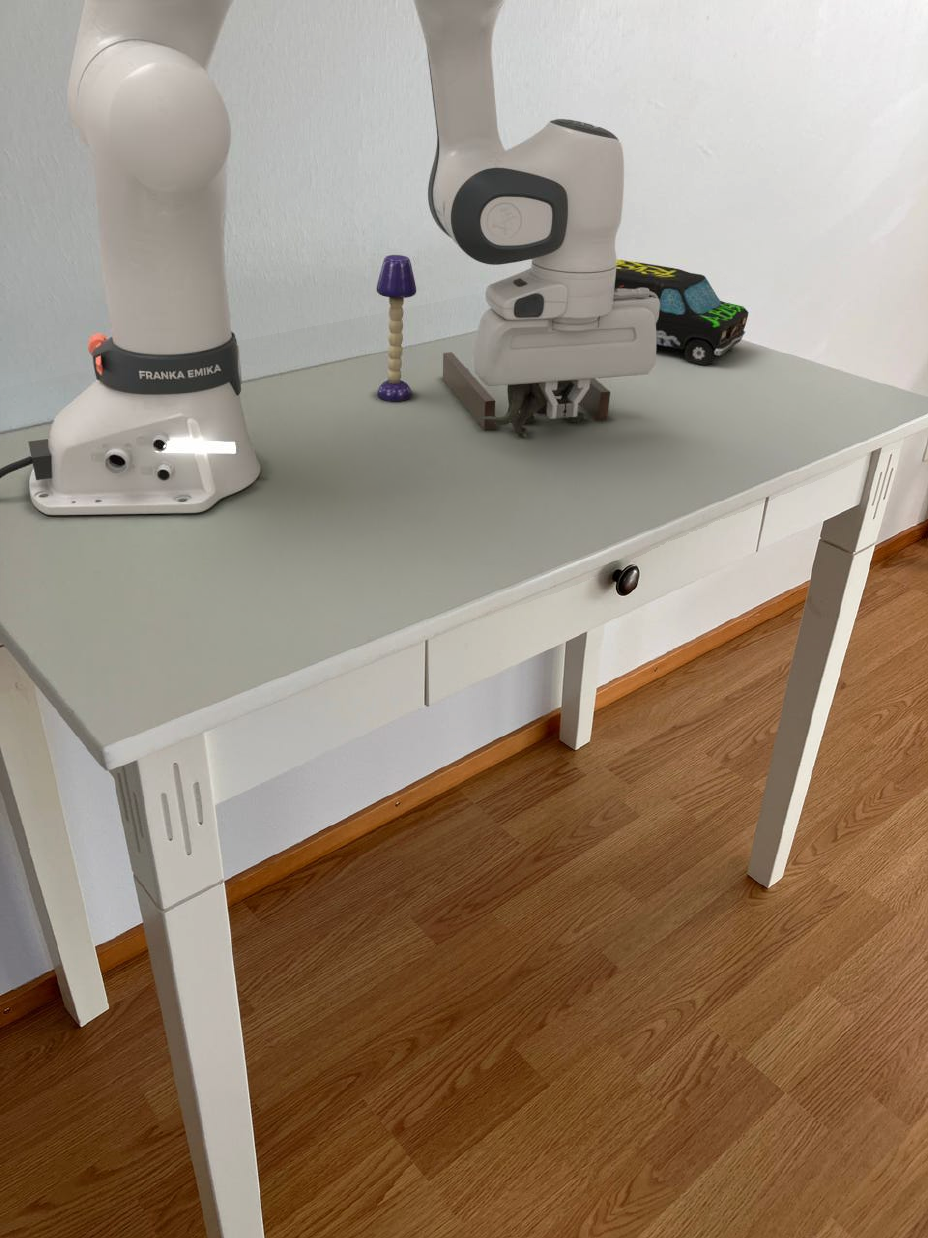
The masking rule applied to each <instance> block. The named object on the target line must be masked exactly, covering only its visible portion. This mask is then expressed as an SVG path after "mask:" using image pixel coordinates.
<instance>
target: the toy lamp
mask: <svg viewBox="0 0 928 1238" xmlns="http://www.w3.org/2000/svg"><path fill="white" fill-rule="evenodd" d="M415 280H416V279H415V275H414V271H413V267H412V262H411V260H410V258H409V257H408V256H406V255H401V254H389V255H387V256H385V257H384V259H383V262H382V265H381V269H380V273H379V276H378V279H377V283H376V293H377V294H378V295H379V296H382V297H386V298H388V302H389V305H390V307H389V310H388V316H389V321H388V329H389V334H388V343H389V346H388V347H387V353H388V360H387V367H388V371H387V380H385V381H383V382H382V383H380V385H379V387H378V389H377V396H378V398H379V399H381V400H383V401H386V402H387V401H388V402H403V401H407V400H410V399H411V398H412V397H413V393H412V390H411V387H410V385H409V384H408V383H407V382H406V381H403V380H402V371H401V369H402V365H403V359H402V356H403V346H402V344H403V340H404V335H403V333H402V332H403V329H404V322H403V317H404V307H403V306H404V301H405V299H407V298H411V297H414V296H415V295H416V294H417V285H416V281H415Z"/></svg>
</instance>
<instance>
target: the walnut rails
mask: <svg viewBox="0 0 928 1238" xmlns="http://www.w3.org/2000/svg"><path fill="white" fill-rule="evenodd" d="M442 380H443V381H444V382H445V384H446V385H447V387H449V389H450V390H451V391H452V393H453V394H454V395H455V396H456V398H457V399H458V400H459V402H461V404H462V405H463V406H464V407H465V409H466V410H467V411H468V412H469V414H470V415H471V416H472V418H473V419H474V420H475V421H476V422H477V423H478V425H479V426H480V427H481V428H482V430H483V431H492V430H495V423H491V422H488V421H486V420H483V418H484V417H487V416H490V417H496V416H495V412H496V400H495V399H494V398H493V396H492V395H491V393H489V392H488V390H486V388H484V386H483V385H482V384H481V383H480V382H479V381H478V379H477V378H476V377H475V376H474V375H473V374H472V373H471V372H470V370H468V368H467V367H466V366H465V365H464V364H463V362H462V361H460V360H459V358H458V357H457V356H456V354H454V353H453V352H452V351H450V352H449V351H447V352H442ZM610 398H611V391H610V390H609V389H608V388H607V387H605V386H604V385H603V384H602V383H600V382H599V380H598V379H597V378H594V379H590V387H589V389H588V391H587V392H586V394H585V395H584V397H583V398H582V400H581V401H580V403H579V404H580V405H581V406H582V407H583V408H584V409H585V410H586V411H587V412H588V413H590V415H592V416H593V417H594V418H595V419H596V420H597V421H607V420H608V419H609V410H610V409H609V408H610Z"/></svg>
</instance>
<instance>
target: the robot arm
mask: <svg viewBox="0 0 928 1238" xmlns="http://www.w3.org/2000/svg"><path fill="white" fill-rule="evenodd" d="M233 2H234V0H84V4H83V8H82V13H81V18H80V22H79V27H78V31H77V37H76V41H75V47H74V52H73V57H72V61H71V66H70V67H71V68H70V71H69V72H70V73H69V79H68V84H67V106H68V112H69V116H70V119H71V121H72V124H73V126H74V128H75V131H76V132H77V135H78V136H79V137H80V139H81V140H82V142H83V143H84V144H85V145H86V146H87V148H88V149H89V150H90V154H91V159H92V164H93V173H94V182H95V192H96V193H95V194H96V203H97V206H96V207H97V219H98V220H97V221H98V230H99V231H98V234H99V236H98V238H99V251H98V255H99V262H100V269H101V275H102V280H103V287H104V294H105V300H106V306H107V307H106V308H107V313H108V319H109V325H110V331H111V337H109V338H108V337H106V335H105V334H103V333H94V334H92V335H91V336H90V338H89V339H88V346H87V347H88V353H89V354H90V355H91V357H92V363H93V370H94V375H95V378H96V379H95V380H94V381H93V382H92V383H91V384H90V385H89V386H88V387H87V388H85V389H84V390H83V391H82V392H81V393H80V394H79V395H77V396H76V397H75V398H73V400H72V401H71V402H69V403H67V405H66V406H64V407H63V408H62V409H61V410H60V411H59V412H58V413H57V415H56V416H55V418H54V420H53V421H52V424H51V427H50V429H49V434H48V438H46V439H36V440H29V441H28V448H29V452H30V455H29V456H26V457H25V458H23V459H20V460H17V461H14V462H12V463H10V464H9V463H8V464H7V465H5V466H3V467H0V479H2V478H3V477H6V475H8V474H10V473H12V472H14V471H17V470H20V469H23V468H26V467H28V466H30V465H32V467H33V468H32V470H31V472H30V475H29V479H28V480H29V481H28V489H29V496H30V498H29V499H30V500H31V503H32V504H33V507H35V508H36V509H37V511H40V512H41V513H42V514H45V515H48V516H85V515H86V516H89V515H147V514H148V515H149V514H153V515H154V514H198V513H202V512H204V511H207V510H208V509H210V508H212V507H213V506H214V505H215V504H216V503H217V502H218V501H220V500H221V499H223V498H226V497H229V496H231V495H233V494H235V493H238V492H240V491H242V490H244V489H246V488H248V487H249V486H250V485H252V484H253V483H254V482H255V481H256V480H257V479H258V477H259V475H260V473H261V464H260V462H259V460H258V457H257V456H256V452H255V450H254V447H253V444H252V440H251V438H250V434H249V431H248V427H247V424H246V420H245V415H244V411H243V406H242V401H241V395H240V393H241V391H242V384H243V381H242V380H243V379H242V378H243V377H242V366H241V355H240V348H239V347H240V346H239V344H238V340H237V337H236V334H235V332H233V331H232V325H231V312H230V311H231V310H230V302H229V292H228V291H229V289H228V280H227V267H226V253H225V244H226V243H225V242H226V241H225V237H226V221H227V220H226V219H227V218H226V216H227V202H228V156H229V153H230V148H231V143H232V142H231V141H232V126H231V119H230V116H229V112H228V110H227V106H226V103H225V101H224V98H223V96H222V94H221V92H220V90H219V88H218V87H217V85H216V82H215V81H214V80H213V78H212V77H211V75H210V74H209V73H208V71H209V68H210V65H211V61H212V58H213V55H214V52H215V49H216V46H217V43H218V41H219V38H220V35H221V32H222V29H223V26H224V24H225V21H226V18H227V16H228V13H229V11H230V8H231V6H232V4H233ZM505 2H506V0H413V3H414V6H415V9H416V12H417V16H418V20H419V23H420V27H421V31H422V34H423V37H424V42H425V46H426V53H427V60H428V68H429V77H430V84H431V93H432V101H433V109H434V118H435V127H436V136H437V137H436V149H435V155H434V160H433V163H432V168H431V171H430V175H429V181H428V187H427V201H428V207H429V211H430V213H431V216H432V218H433V220H434V222H435V224H436V225H437V226H438V228H439V229H440V230H441V231H442V232H443V233H444V234H445V235H446V236H448V237H449V238H451V239H452V240H453V242H454V243H455V244H456V245H457V246H458V248H460V249H461V251H463V253H465V255H467V256H468V257H470V258H471V259H472V260H474V261H476V262H479V263H481V264H486V265H490V266H491V265H492V266H498V265H507V264H512V263H519V262H523V261H524V262H525V261H529V260H531V266H530V267H529V268H527V269H526V270H523V271H521V272H518V273H516V274H514V275H512V276H508V277H506V278H503V279H501V280H498V281H496V282H493V283H491V284H489V285H488V286H487V287H486V289H485V302H486V303H487V305H488V306H489V309H487V310H486V311H485V312H484V313H483V314H482V316H481V318H480V320H479V323H478V326H477V331H476V332H477V333H476V336H475V337H476V338H475V346H474V355H473V356H474V357H473V368H474V369H473V370H474V373H475V375H476V376H477V377H478V378H479V380H480V381H482V382H483V383H484V384H485V385H486V386H488V387H498V386H508V385H513V384H527V383H539V386H540V388H541V390H542V392H543V394H544V396H545V398H546V400H547V411H546V415H547V417H548V418H549V419H550V420H555V419H563V418H564V419H567V418H569V417H577V413H578V412H579V411H578V410H579V404H580V401H581V400H582V398H583V397H584V395H585V394H586V392H587V391H588V389H589V387H590V379H594V378H595V379H605V378H607V379H608V378H620V377H631V376H632V377H635V376H646V375H649V373H650V372H651V371H652V370H653V369H654V367H655V366H656V360H657V344H656V323H657V320H658V317H659V309H660V301H659V298H658V296H657V295H656V294H655V293H653V292H651V291H650V290H649V289H648V288H636V289H614V287H615V277H616V266H617V259H618V257H617V252H616V239H617V234H618V231H619V228H620V226H621V222H622V218H623V217H622V215H623V207H624V205H623V204H624V189H625V188H624V187H625V158H624V149H623V144H622V143H621V142H620V140H619V138H618V137H617V136H616V135H615V134H614V133H612V132H611V131H609V130H608V129H606V128H603V127H601V126H596V125H593V124H591V123H587V122H583V121H580V120H579V121H578V120H574V119H566V118H555V119H552V120H550V121H548V122H547V124H546V125H545V126H544V127H543V128H541V129H540V130H539V131H537V132H536V133H534V134H533V135H532V136H530V137H529V138H527V139H525V140H523V141H522V142H520V143H518V144H516V145H515V146H512V147H510V148H508V149H506V150H505V147H504V145H503V143H502V141H501V138H500V133H499V129H498V118H497V106H496V94H495V93H496V91H495V82H494V70H493V56H492V54H493V52H492V51H493V48H492V47H493V37H494V31H495V27H496V23H497V20H498V19H499V15H500V13H501V10H502V8H503V6H504V4H505ZM649 295H650V296H652V297H649ZM567 380H571V382H572V383H573V384H574V387H573V388H572V390H571V392H570V394H569V395H568V397H567V398H561V397H560V398H556V396H554V394H553V392H552V390H557V384H558V381H567ZM560 399H561V400H560Z"/></svg>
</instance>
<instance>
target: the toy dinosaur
mask: <svg viewBox="0 0 928 1238" xmlns="http://www.w3.org/2000/svg"><path fill="white" fill-rule="evenodd" d="M573 387H574V384H573V383H572V382H571V380H567V381H558V384H557V390H552V392H553V394H554V396H555V397H560V398H559V399H560V400H561V398H567V397H568V395H569V394H570V392H571V390H572V388H573ZM506 390H507V391H506V392H507V401H508V408H507V412H506V413H505V414H504V415H502V416H495V417H490V416H487V417H484V418H483V420H486V421H488V422H491V423H494V425H500V426H501V425H502V426H503V425H504V426H505V425H509V424H511V425H512V428H513V429H514V431H515V432H516V433H517V434H518V436H520V437H522V438H527V436H528V435H527V433H528V429H527V428H526V427H524V425H525V424H528V423H530V422H534V420H535V416H534V415H535V413H538V412H539V413H540V412H541V413H543V412H547V400H546V398H545V396H544V394H543V392H542V390H541V388H540V386H539V383H527V384H513V385H507V389H506ZM566 419H567V420H568V421H569V422H572V423H580V422H581V421H586V420H587V416H586V415H585V413H583V412H579V411H578V413H577V417H569V418H566Z"/></svg>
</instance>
